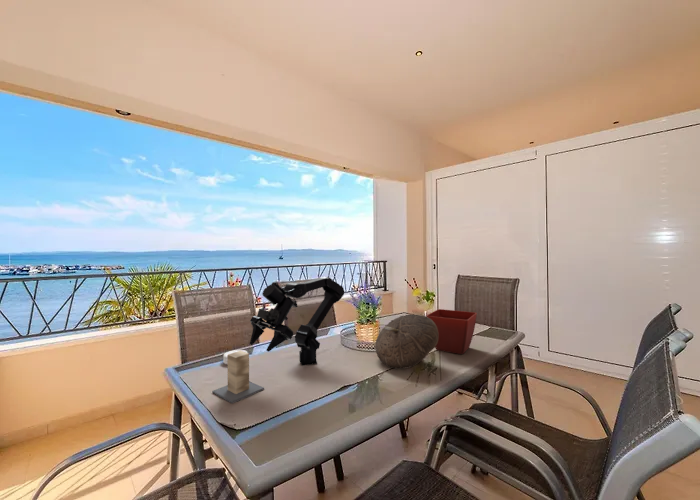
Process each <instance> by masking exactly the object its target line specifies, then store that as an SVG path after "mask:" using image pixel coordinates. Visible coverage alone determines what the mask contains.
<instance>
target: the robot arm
mask: <svg viewBox="0 0 700 500" xmlns="http://www.w3.org/2000/svg"><path fill="white" fill-rule="evenodd" d="M321 288H322V290H323V291H324V297H323V300H322V301H321V303H320V304H319V305H318V308H317V309H316V310H315V311H314V313H313V315H312V317H311V318H310V319H309V321H308V322H307V324H300V326H299V328H298V329H297V330H296V331H295V335H294V331H293V330H292V329H291V328H290V327H289V326H288V325H285V324H283V323H284V322H285V321H287V320H288V319H289V317H288V315H289V313H290V311H291V309H292V308H298V303H297V300H295V299H300V298H302V297H304V296H305V295H306V294H307V293H309V292H312V291H314V290H318V289H321ZM344 294H345V288H344V287H343V286H342V285H340V284H339V283H337V282H336V281H334V280H333V279H332V278H331V277H330V276H321V277H318V278H315V279H311V280H308V281H307V280H306V281H304V282H289V283H286V284H285V286H283V287H281V285H279V283H277V282H271V284H269V285H267V287H266V288H265V287H264V289H263V291H262V296H263V297H264V298H265V299H266V300H267V301H268V302H270V303H271V304H272V305H275V306H274V308H270V310H266V309H263V308H258V311H257V313H256V314H257V315H254V316H253V315H252V317H251V318H250V320H249V322H250V325H251V326H252V332H251V337H250V340H249V345H251V346H253V344H255V343H256V342H257V341H258V340H259V338H260V337H261V336H262V335H263V333H265V329H269V330H271V331H273V337H272V338H271V340H270V342H269V344H268V346H267V348H266V351H267V352H271V351H272V350H273V349H274V348H275V347H277V346H279V345H280V344H282V343H283V342H285V341H288V340H291V339H292V337H294V340H295V341H294V342H295V343H296V345H297V348H300V351H298V352H299V355H298V357H299V363H300V364H301V366H309V365H316V364H318V361H317V350H319V349H320V345H321V343H320V341H318V340H317V337H318V329H319V327H320V326H321V324H322V323H323V322H324V320H325V318H326V317H327V315H328V313H329V312H330V310H331V309H332V307H333V305H335V304H336V303H338V302H340V300H341V299H342V298H343V297H344ZM292 298H293V299H292Z"/></svg>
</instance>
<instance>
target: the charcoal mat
mask: <svg viewBox="0 0 700 500" xmlns="http://www.w3.org/2000/svg"><path fill="white" fill-rule="evenodd" d="M264 390H265V388H264V386H261V385H259V384H256V383H254V382H253V381H250V380H249V389H247V390H245V391H242V392H240V393H238V394H235V393H233V392H231V391H229V390H228V384H227V385H224V386H221V387H219V388H216V389H214V390H212V393H213V394H214V395H216V396H218V397H219V398H221V399H222V400H225V401H226V402H229V404H230V403H231V404H234V403H236V402H238V401H241V400H244V399H245V398H248V397H250V396H253V395H255V394H257V393H259V392H261V391H264Z"/></svg>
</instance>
